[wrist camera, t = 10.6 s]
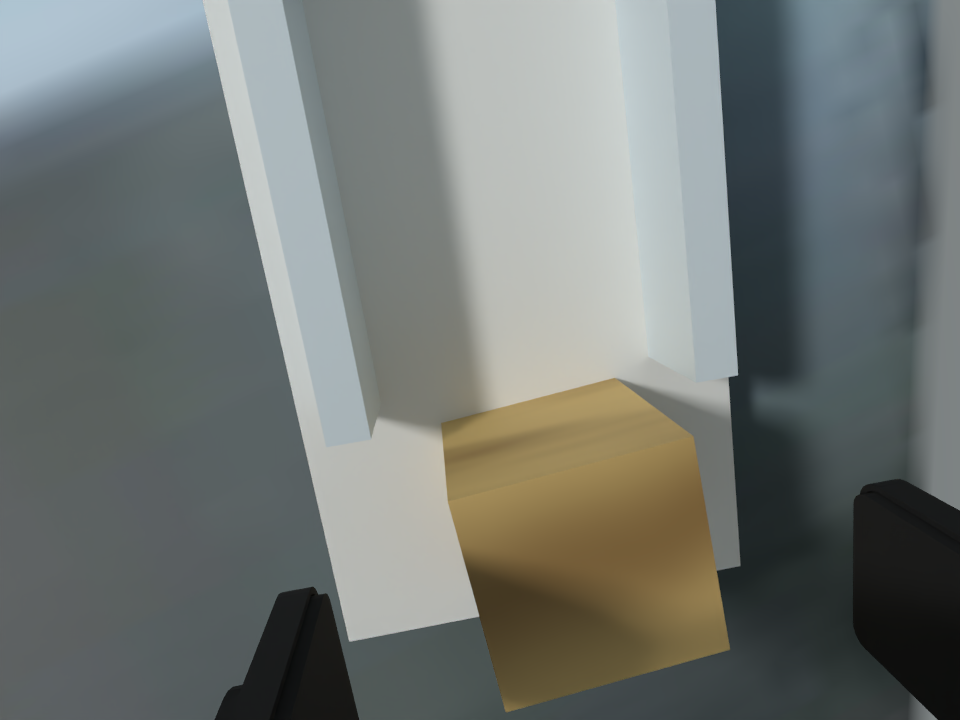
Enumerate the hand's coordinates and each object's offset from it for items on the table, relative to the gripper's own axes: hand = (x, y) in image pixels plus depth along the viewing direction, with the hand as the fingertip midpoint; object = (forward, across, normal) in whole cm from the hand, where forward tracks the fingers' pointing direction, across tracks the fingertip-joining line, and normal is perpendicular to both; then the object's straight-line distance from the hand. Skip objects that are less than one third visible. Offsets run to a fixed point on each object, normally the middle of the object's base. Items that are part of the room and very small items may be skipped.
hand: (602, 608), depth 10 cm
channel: (+8, 0, -7) cm, 11 cm away
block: (+7, 0, +1) cm, 7 cm away
